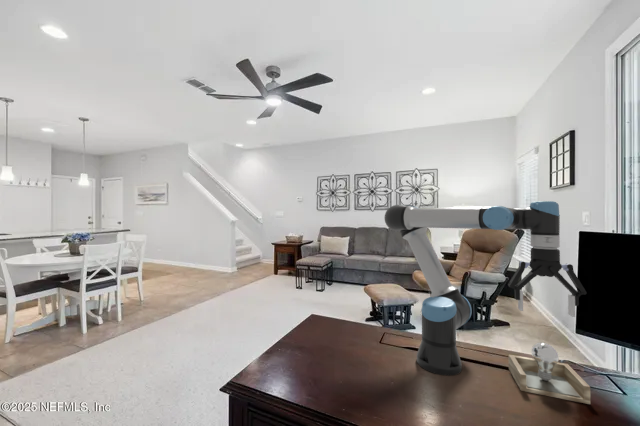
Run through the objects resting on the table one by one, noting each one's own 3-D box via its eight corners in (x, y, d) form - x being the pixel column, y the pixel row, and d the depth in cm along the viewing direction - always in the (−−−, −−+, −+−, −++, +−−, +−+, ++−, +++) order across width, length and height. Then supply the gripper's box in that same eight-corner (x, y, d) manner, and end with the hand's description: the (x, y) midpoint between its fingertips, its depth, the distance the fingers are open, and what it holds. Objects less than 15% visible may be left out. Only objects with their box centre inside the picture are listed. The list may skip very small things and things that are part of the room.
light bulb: (564, 388, 86) (564, 349, 86) (539, 385, 87) (538, 347, 87) (550, 376, 93) (550, 339, 93) (527, 373, 94) (526, 337, 94)
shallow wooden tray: (520, 390, 86) (520, 374, 87) (508, 368, 99) (508, 354, 100) (590, 404, 80) (590, 386, 80) (567, 379, 93) (567, 364, 93)
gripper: (503, 247, 93) (503, 310, 92) (600, 251, 83) (601, 322, 82) (498, 245, 100) (498, 304, 99) (587, 248, 90) (588, 314, 89)
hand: (545, 312), depth 91 cm, fingers open, 13 cm apart
